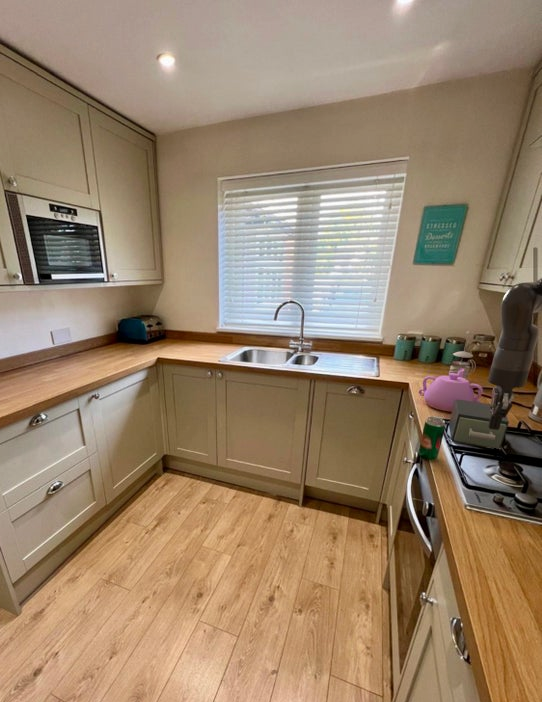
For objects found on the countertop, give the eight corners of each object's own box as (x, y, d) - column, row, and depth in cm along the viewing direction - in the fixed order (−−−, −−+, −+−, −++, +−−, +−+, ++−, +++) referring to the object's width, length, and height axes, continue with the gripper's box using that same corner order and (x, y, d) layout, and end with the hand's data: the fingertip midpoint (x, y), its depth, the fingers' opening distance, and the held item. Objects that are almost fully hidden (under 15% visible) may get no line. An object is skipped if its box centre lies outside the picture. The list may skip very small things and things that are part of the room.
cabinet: (499, 450, 100) (509, 421, 97) (451, 441, 106) (458, 413, 103) (492, 431, 112) (500, 405, 109) (448, 424, 118) (455, 399, 115)
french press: (454, 378, 169) (467, 328, 160) (476, 385, 158) (491, 332, 149) (440, 380, 166) (451, 330, 157) (461, 387, 155) (475, 334, 147)
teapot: (485, 404, 135) (495, 372, 130) (474, 420, 120) (484, 384, 115) (426, 392, 149) (432, 362, 144) (410, 405, 135) (416, 372, 130)
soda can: (413, 453, 99) (421, 416, 95) (429, 452, 100) (438, 415, 96) (424, 461, 95) (433, 424, 90) (441, 460, 95) (451, 423, 91)
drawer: (501, 455, 96) (509, 431, 93) (455, 446, 101) (461, 423, 98) (492, 431, 110) (498, 410, 108) (451, 424, 116) (457, 403, 113)
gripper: (536, 374, 76) (515, 441, 82) (524, 361, 86) (506, 422, 93) (495, 370, 79) (478, 435, 86) (488, 359, 90) (474, 417, 96)
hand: (493, 428), depth 89 cm, fingers closed
